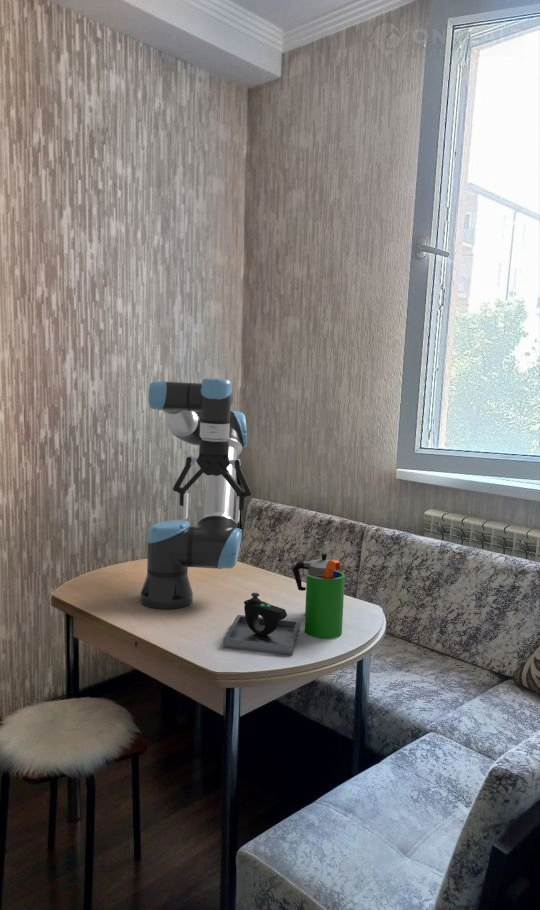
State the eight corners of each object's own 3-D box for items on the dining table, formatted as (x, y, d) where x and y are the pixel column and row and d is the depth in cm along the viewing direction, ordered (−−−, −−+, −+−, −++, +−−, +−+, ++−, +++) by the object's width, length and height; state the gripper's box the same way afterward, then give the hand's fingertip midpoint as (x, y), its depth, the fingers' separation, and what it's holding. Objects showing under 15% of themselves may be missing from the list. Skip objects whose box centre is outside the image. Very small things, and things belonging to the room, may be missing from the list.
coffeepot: (338, 609, 201) (342, 549, 199) (348, 621, 192) (352, 558, 190) (286, 610, 198) (289, 549, 196) (294, 622, 189) (297, 558, 187)
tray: (237, 623, 185) (237, 614, 185) (299, 630, 183) (300, 621, 183) (223, 648, 169) (224, 638, 168) (292, 655, 166) (293, 645, 166)
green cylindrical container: (321, 622, 189) (325, 551, 187) (349, 631, 184) (353, 558, 181) (299, 632, 181) (303, 558, 179) (327, 642, 176) (332, 565, 174)
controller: (250, 626, 181) (252, 589, 180) (287, 639, 174) (290, 601, 172) (239, 630, 178) (241, 593, 177) (277, 644, 170) (279, 605, 169)
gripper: (162, 438, 173) (160, 520, 176) (261, 444, 171) (257, 526, 175) (169, 434, 180) (167, 513, 184) (264, 440, 179) (260, 519, 182)
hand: (211, 520), depth 179 cm, fingers open, 13 cm apart
